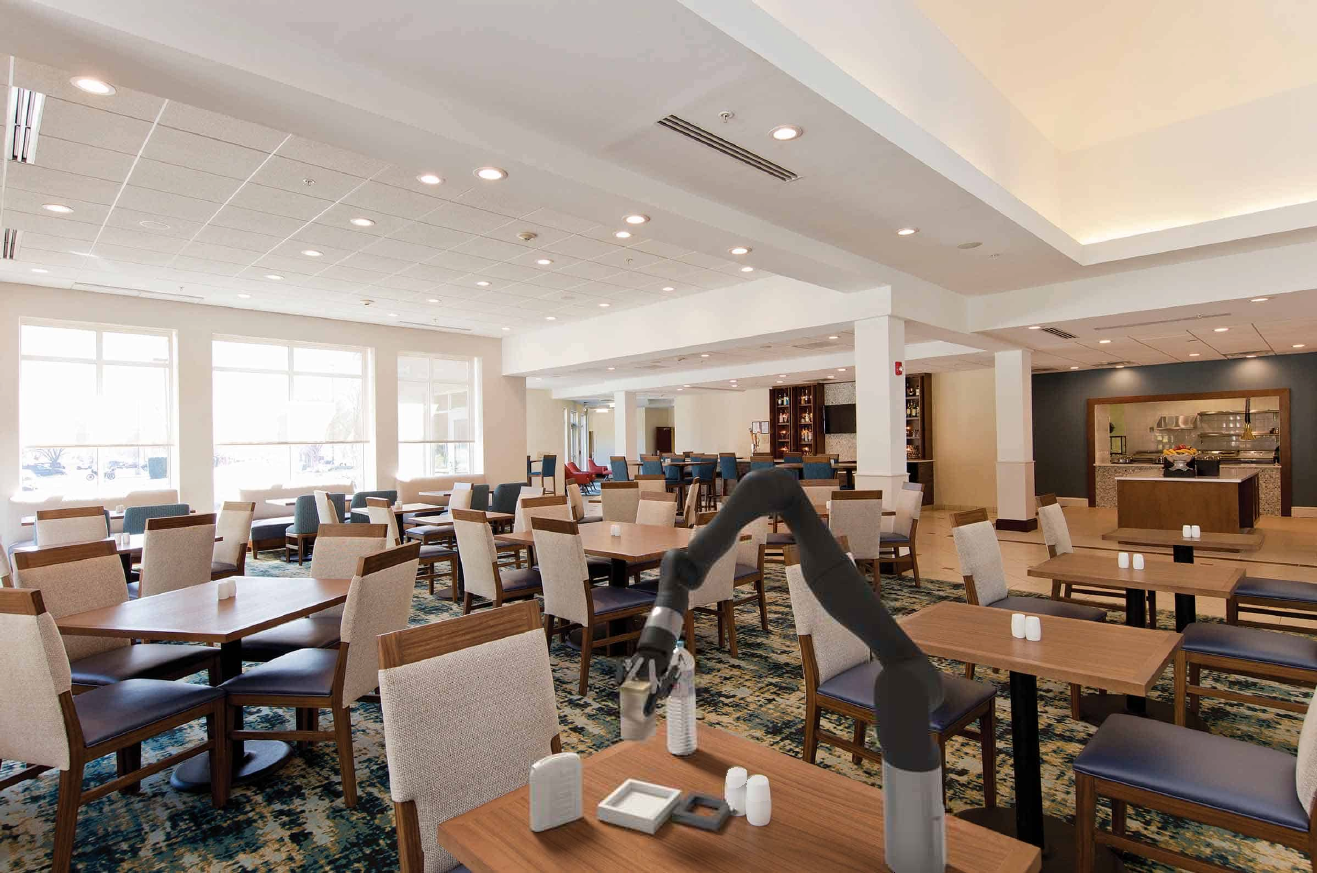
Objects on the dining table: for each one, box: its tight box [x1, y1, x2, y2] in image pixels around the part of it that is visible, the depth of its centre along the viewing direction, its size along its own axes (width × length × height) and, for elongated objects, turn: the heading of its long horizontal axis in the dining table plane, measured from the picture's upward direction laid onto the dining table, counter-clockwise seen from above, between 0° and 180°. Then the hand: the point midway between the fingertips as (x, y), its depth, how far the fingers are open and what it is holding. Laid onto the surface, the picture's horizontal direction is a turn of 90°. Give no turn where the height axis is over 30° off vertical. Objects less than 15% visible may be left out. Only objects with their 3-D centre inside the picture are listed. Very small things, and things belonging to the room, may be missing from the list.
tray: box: [596, 778, 683, 835], centre depth 131 cm, size 12×12×2 cm
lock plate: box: [671, 791, 732, 833], centre depth 129 cm, size 9×9×2 cm
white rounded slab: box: [529, 752, 584, 833], centre depth 128 cm, size 10×4×12 cm, turn 123°
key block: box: [619, 679, 657, 744], centre depth 132 cm, size 5×5×10 cm
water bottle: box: [665, 640, 698, 756], centre depth 158 cm, size 7×7×25 cm
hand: (633, 712), depth 130 cm, fingers closed on key block, 5 cm apart
